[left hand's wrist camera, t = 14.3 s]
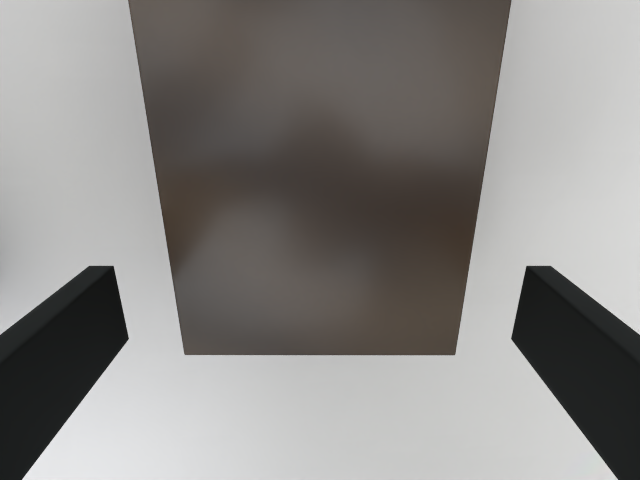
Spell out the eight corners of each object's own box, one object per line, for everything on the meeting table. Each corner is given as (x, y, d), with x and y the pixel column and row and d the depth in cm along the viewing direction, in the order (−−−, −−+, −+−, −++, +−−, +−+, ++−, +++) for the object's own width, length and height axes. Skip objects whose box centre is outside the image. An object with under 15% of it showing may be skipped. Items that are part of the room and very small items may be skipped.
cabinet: (198, -45, 18) (104, -141, 10) (441, -46, 18) (534, -142, 10) (228, 265, 24) (184, 355, 16) (411, 265, 24) (455, 355, 16)
